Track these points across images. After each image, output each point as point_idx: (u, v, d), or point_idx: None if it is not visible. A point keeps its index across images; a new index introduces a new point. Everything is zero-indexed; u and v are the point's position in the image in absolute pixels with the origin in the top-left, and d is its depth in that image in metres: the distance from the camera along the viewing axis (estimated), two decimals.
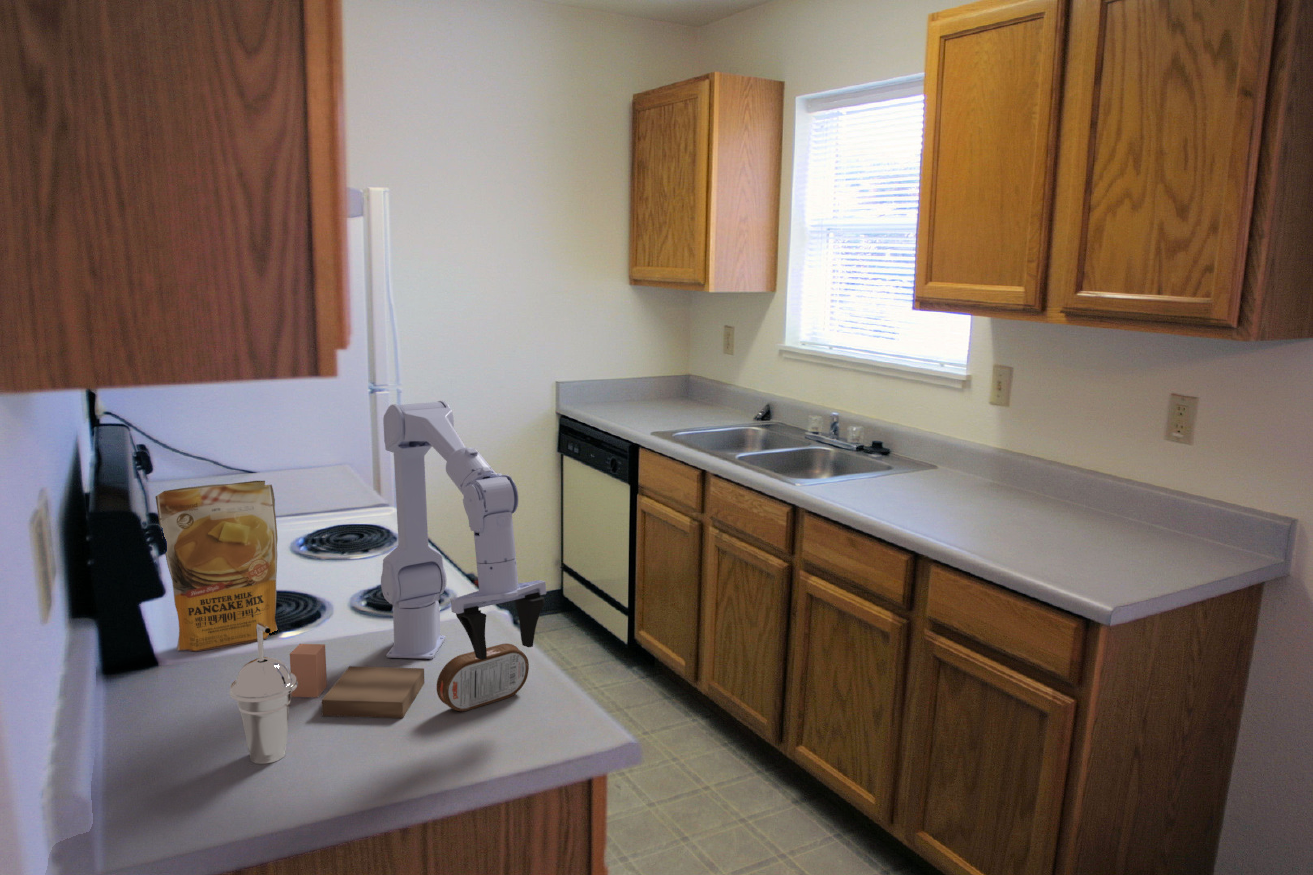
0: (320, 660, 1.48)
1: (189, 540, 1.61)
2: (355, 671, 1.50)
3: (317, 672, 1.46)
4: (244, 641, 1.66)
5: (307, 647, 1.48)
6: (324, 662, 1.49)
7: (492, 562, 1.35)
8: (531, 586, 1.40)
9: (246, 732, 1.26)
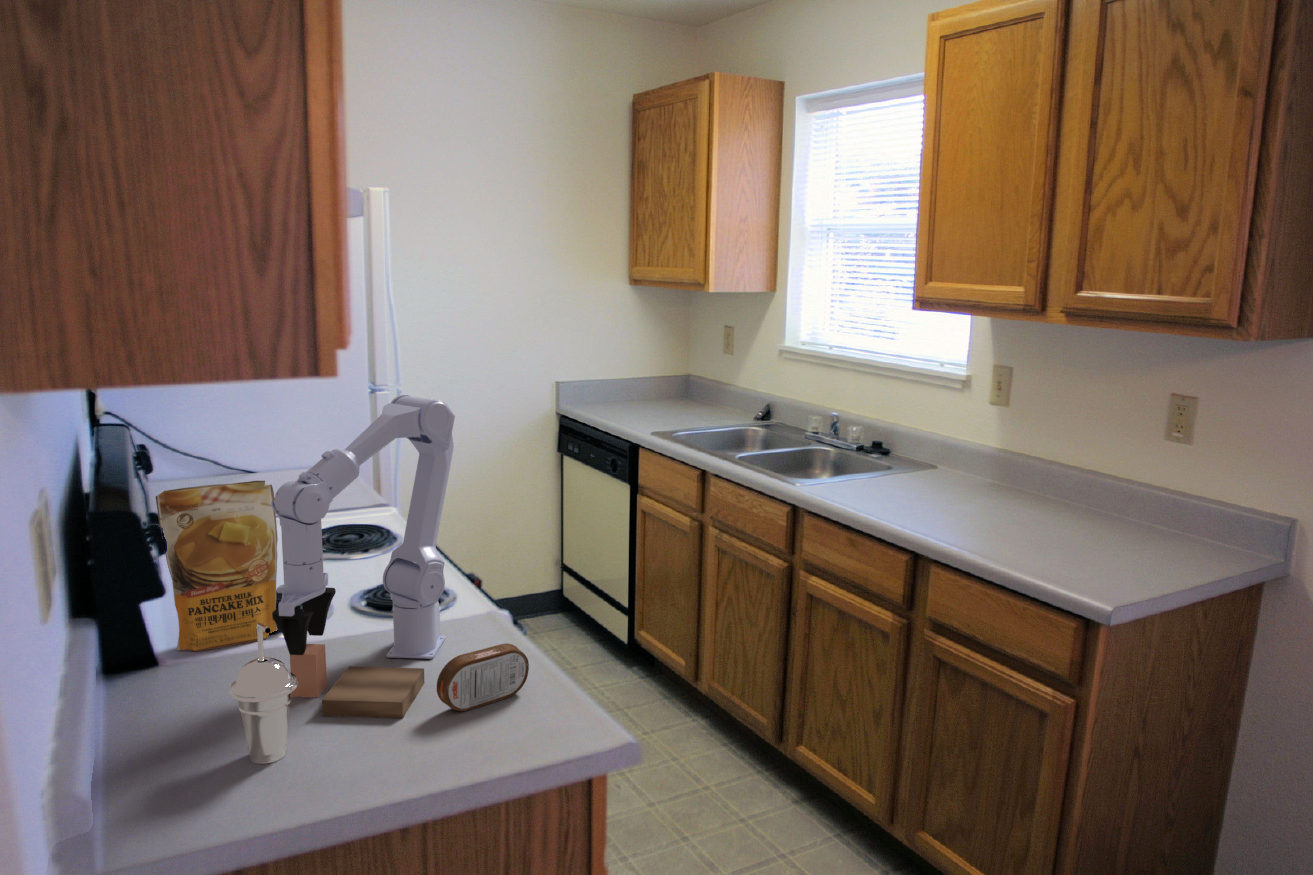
0: (320, 660, 1.48)
1: (189, 540, 1.61)
2: (355, 671, 1.50)
3: (317, 672, 1.46)
4: (244, 641, 1.66)
5: (307, 647, 1.48)
6: (324, 662, 1.49)
7: None
8: (282, 598, 1.41)
9: (246, 732, 1.26)
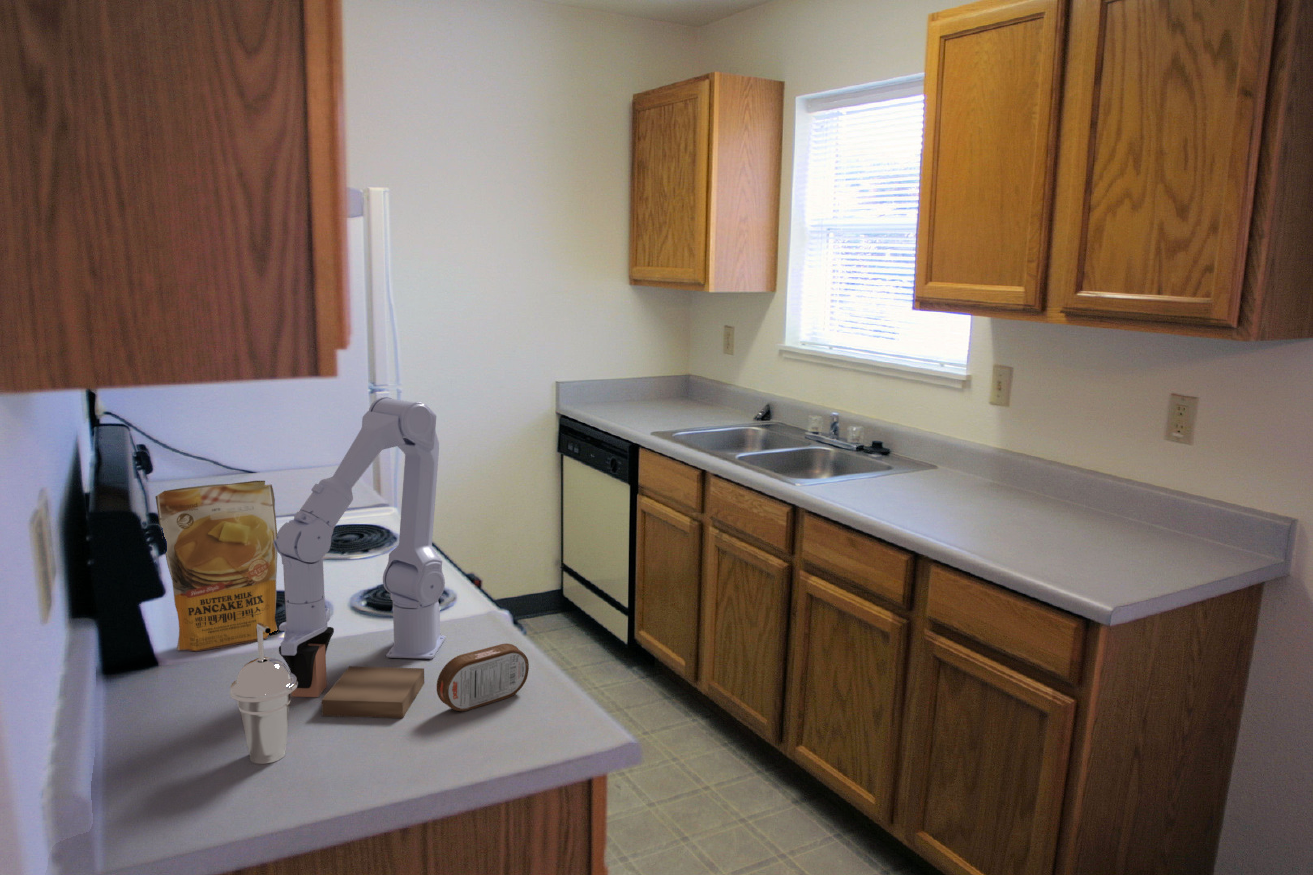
0: (320, 659, 1.47)
1: (189, 540, 1.61)
2: (355, 671, 1.50)
3: (317, 672, 1.46)
4: (244, 641, 1.66)
5: None
6: (324, 662, 1.49)
7: None
8: (284, 636, 1.42)
9: (246, 732, 1.26)
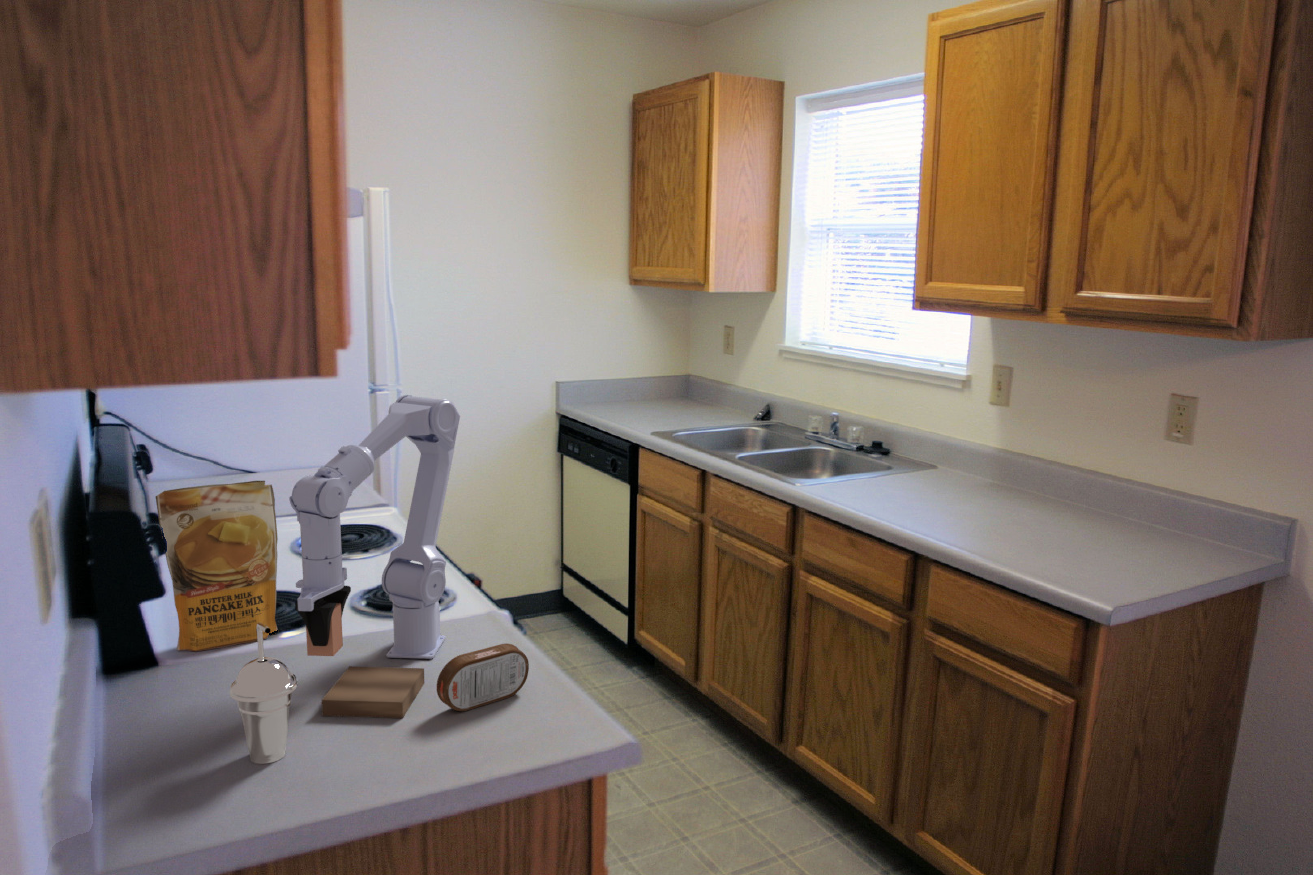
0: (336, 618, 1.46)
1: (189, 540, 1.61)
2: (355, 671, 1.50)
3: (333, 631, 1.44)
4: (244, 641, 1.66)
5: None
6: (340, 621, 1.47)
7: None
8: (301, 593, 1.40)
9: (246, 732, 1.26)
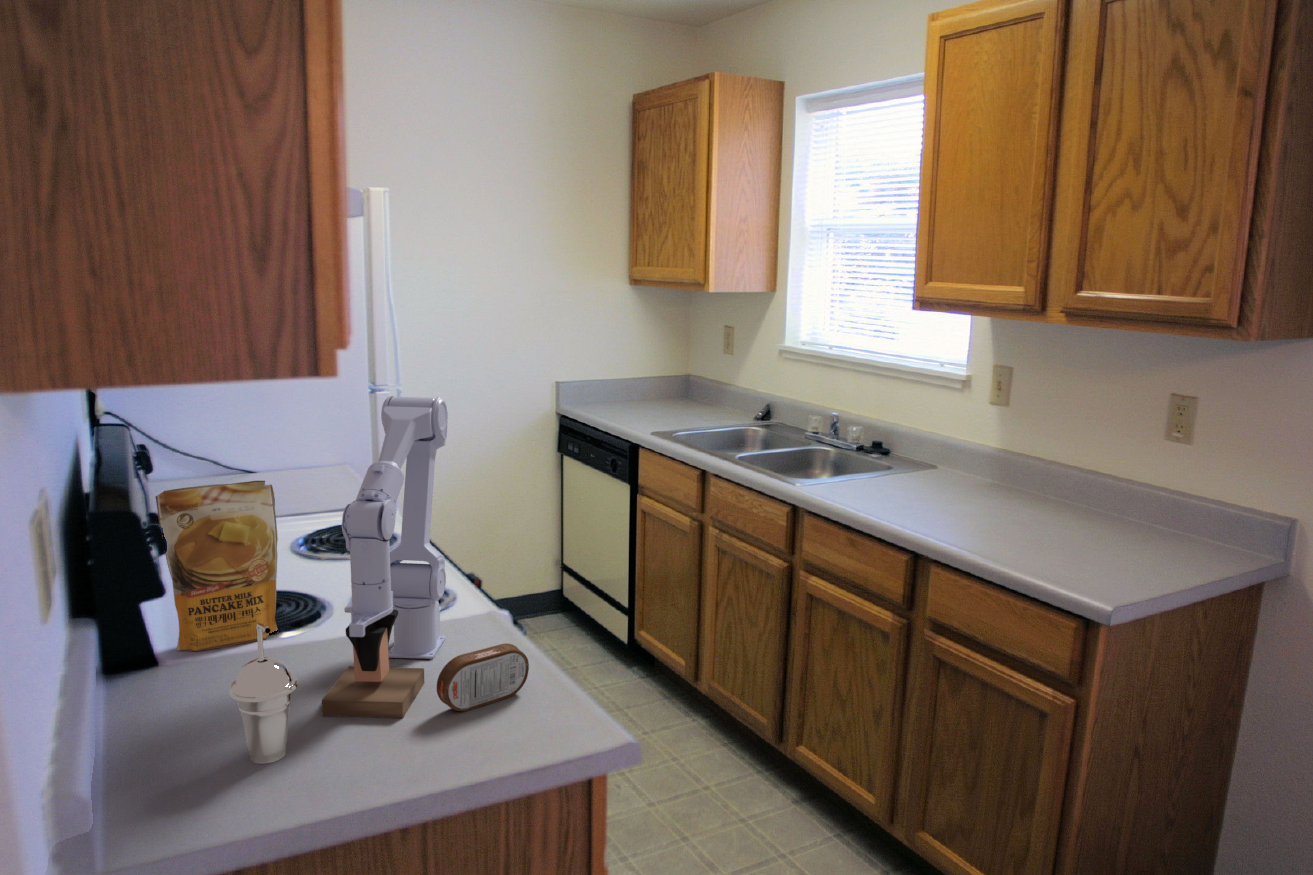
0: (383, 643, 1.45)
1: (189, 540, 1.61)
2: None
3: (380, 656, 1.43)
4: (244, 641, 1.66)
5: None
6: (386, 646, 1.46)
7: None
8: (351, 618, 1.39)
9: (246, 732, 1.26)
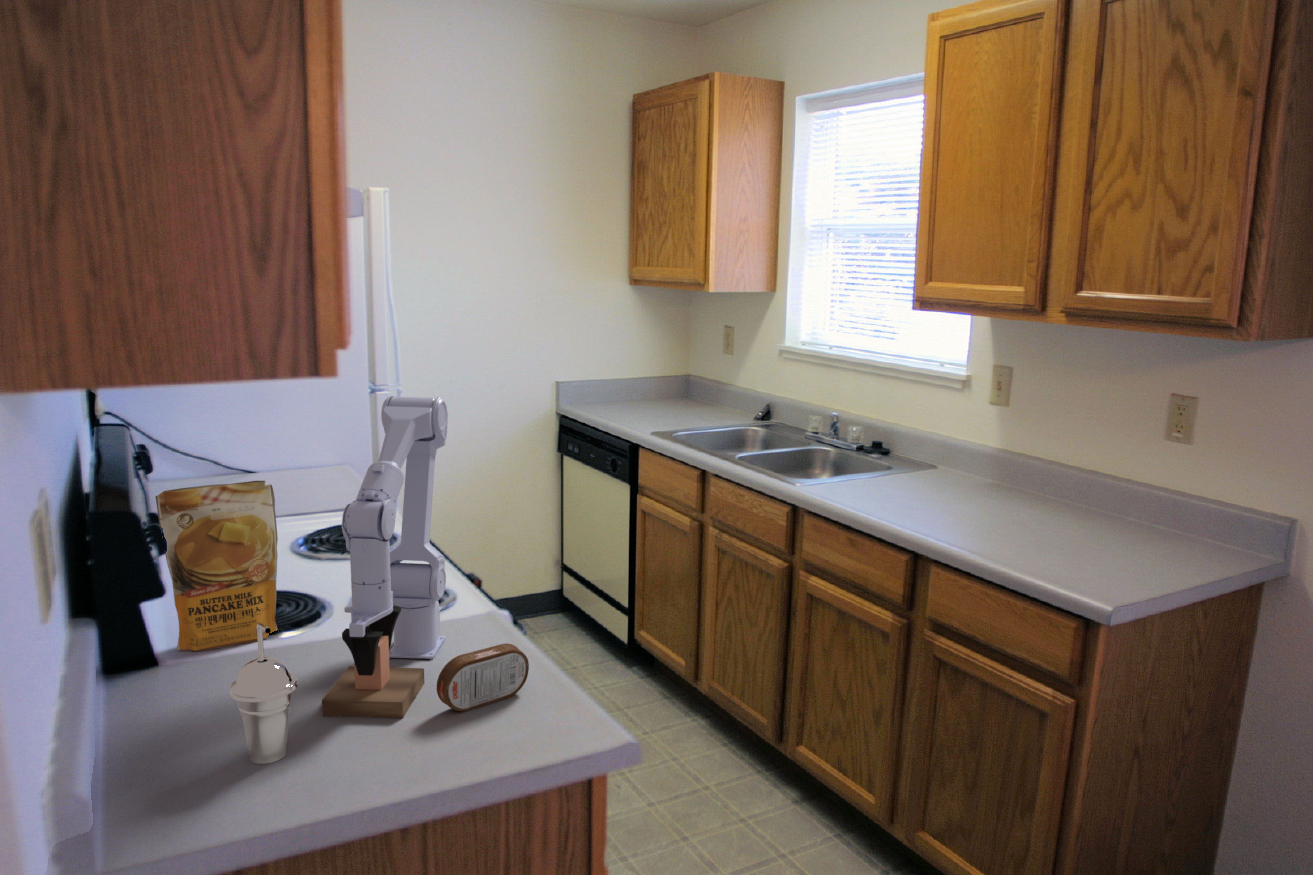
0: (384, 651, 1.45)
1: (189, 540, 1.61)
2: None
3: (381, 664, 1.44)
4: (244, 641, 1.66)
5: None
6: (387, 654, 1.46)
7: None
8: (351, 618, 1.39)
9: (246, 732, 1.26)
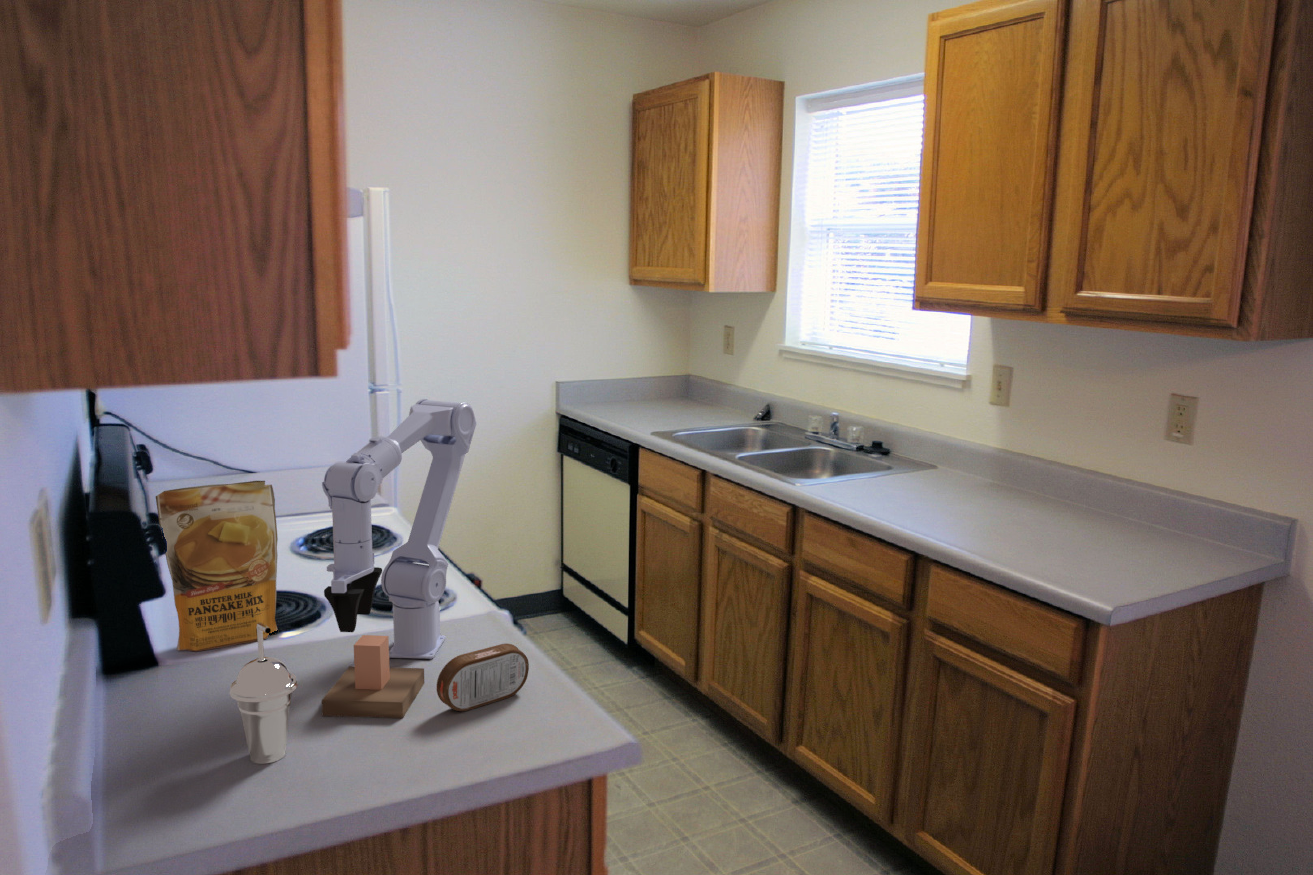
0: (384, 651, 1.45)
1: (189, 540, 1.61)
2: None
3: (381, 664, 1.44)
4: (244, 641, 1.66)
5: (370, 638, 1.45)
6: (387, 654, 1.46)
7: None
8: (333, 576, 1.44)
9: (246, 732, 1.26)
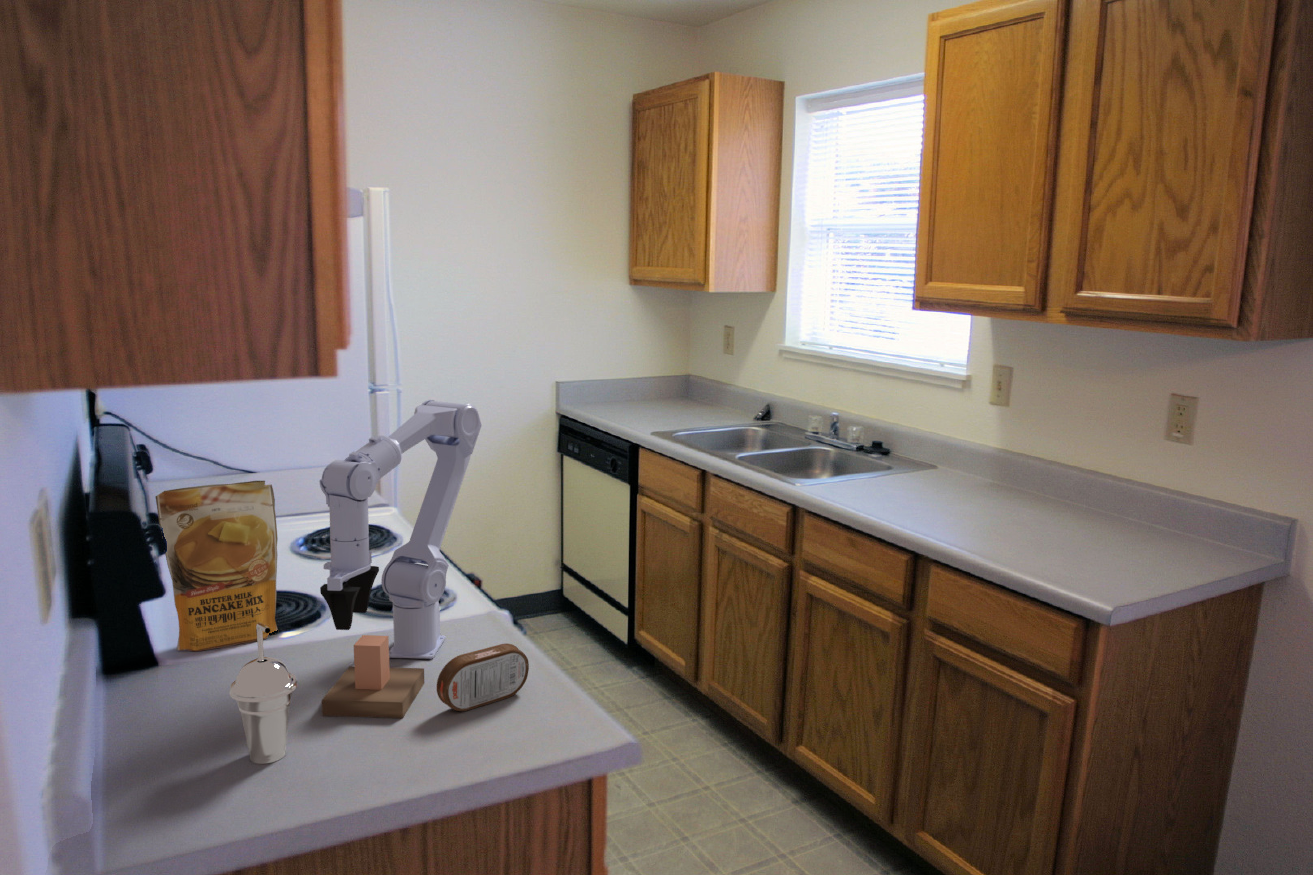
0: (384, 651, 1.45)
1: (189, 540, 1.61)
2: None
3: (381, 664, 1.44)
4: (244, 641, 1.66)
5: (370, 638, 1.45)
6: (387, 654, 1.46)
7: None
8: None
9: (246, 732, 1.26)
